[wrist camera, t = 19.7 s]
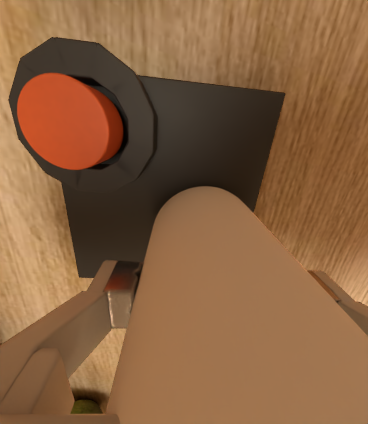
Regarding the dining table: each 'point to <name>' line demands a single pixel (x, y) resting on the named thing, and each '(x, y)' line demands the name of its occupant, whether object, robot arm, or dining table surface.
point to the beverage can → (234, 328)
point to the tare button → (69, 121)
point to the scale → (150, 147)
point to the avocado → (85, 407)
